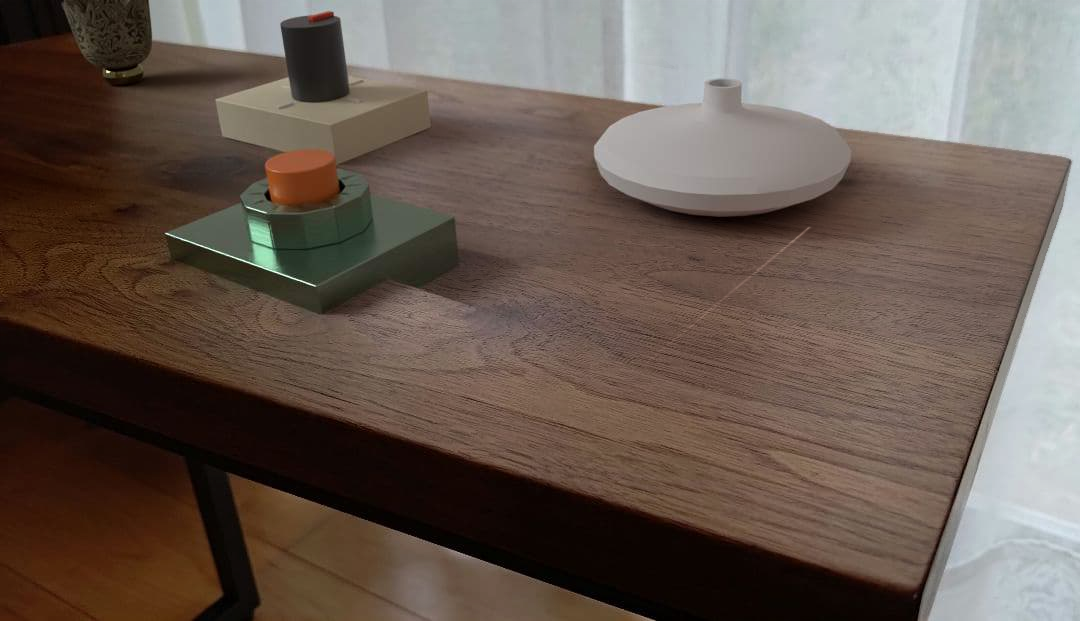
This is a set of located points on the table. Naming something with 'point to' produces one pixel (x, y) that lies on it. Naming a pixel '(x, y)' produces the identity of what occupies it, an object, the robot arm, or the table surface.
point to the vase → (722, 155)
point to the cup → (112, 36)
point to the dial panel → (325, 118)
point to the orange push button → (302, 177)
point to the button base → (319, 244)
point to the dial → (315, 57)
